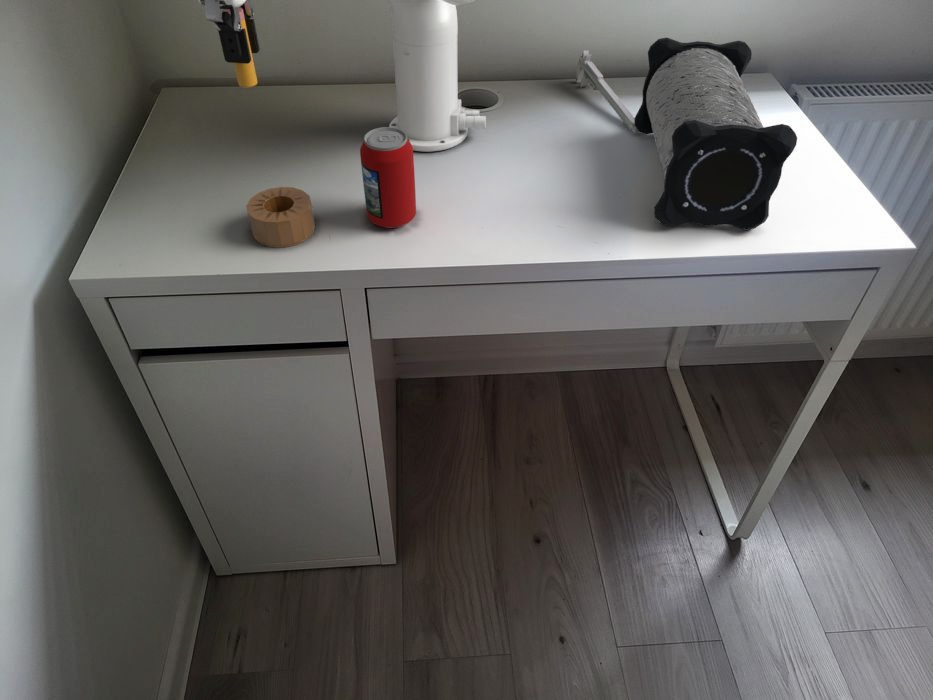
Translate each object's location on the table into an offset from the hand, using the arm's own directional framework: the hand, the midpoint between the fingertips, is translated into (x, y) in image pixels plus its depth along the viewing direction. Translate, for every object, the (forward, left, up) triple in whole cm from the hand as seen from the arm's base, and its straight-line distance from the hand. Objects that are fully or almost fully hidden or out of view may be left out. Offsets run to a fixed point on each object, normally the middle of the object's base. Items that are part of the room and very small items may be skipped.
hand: (242, 55), depth 88 cm
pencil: (0, 0, -4) cm, 4 cm away
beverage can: (-18, +5, -19) cm, 27 cm away
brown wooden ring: (-4, +9, -19) cm, 22 cm away
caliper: (-49, -31, -20) cm, 61 cm away
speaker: (-61, -9, -19) cm, 64 cm away
